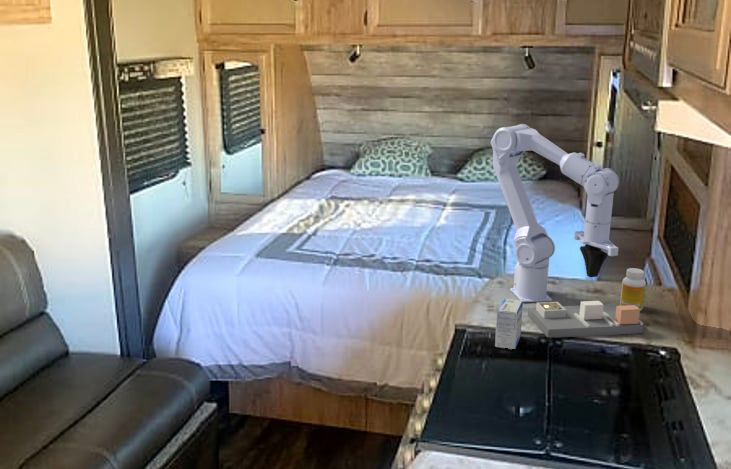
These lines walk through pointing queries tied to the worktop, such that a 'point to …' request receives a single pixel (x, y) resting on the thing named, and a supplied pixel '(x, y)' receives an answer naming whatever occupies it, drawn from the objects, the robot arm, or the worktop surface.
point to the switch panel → (579, 322)
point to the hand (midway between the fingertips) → (592, 276)
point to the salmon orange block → (627, 314)
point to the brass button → (550, 306)
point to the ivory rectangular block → (591, 310)
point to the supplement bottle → (633, 288)
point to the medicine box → (508, 324)
